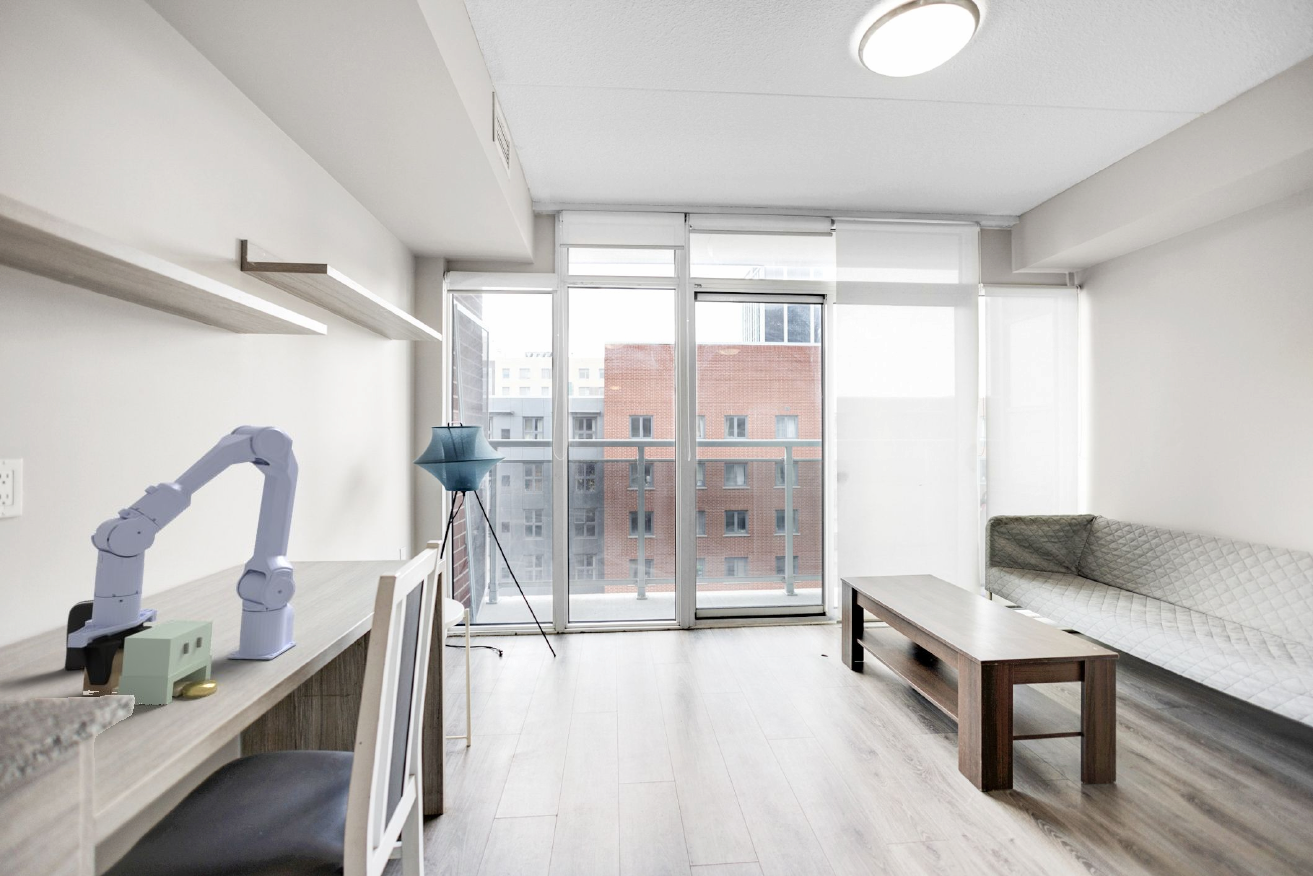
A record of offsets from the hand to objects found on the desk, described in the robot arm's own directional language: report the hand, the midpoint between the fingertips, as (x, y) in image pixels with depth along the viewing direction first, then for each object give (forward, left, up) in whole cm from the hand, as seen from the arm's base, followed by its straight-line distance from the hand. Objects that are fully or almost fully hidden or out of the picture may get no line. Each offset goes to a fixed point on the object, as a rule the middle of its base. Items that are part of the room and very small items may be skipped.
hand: (111, 678), depth 94 cm
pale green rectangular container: (0, +8, -2) cm, 9 cm away
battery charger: (-11, -12, -2) cm, 16 cm away
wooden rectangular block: (0, +4, -2) cm, 5 cm away
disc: (0, +13, -2) cm, 14 cm away
